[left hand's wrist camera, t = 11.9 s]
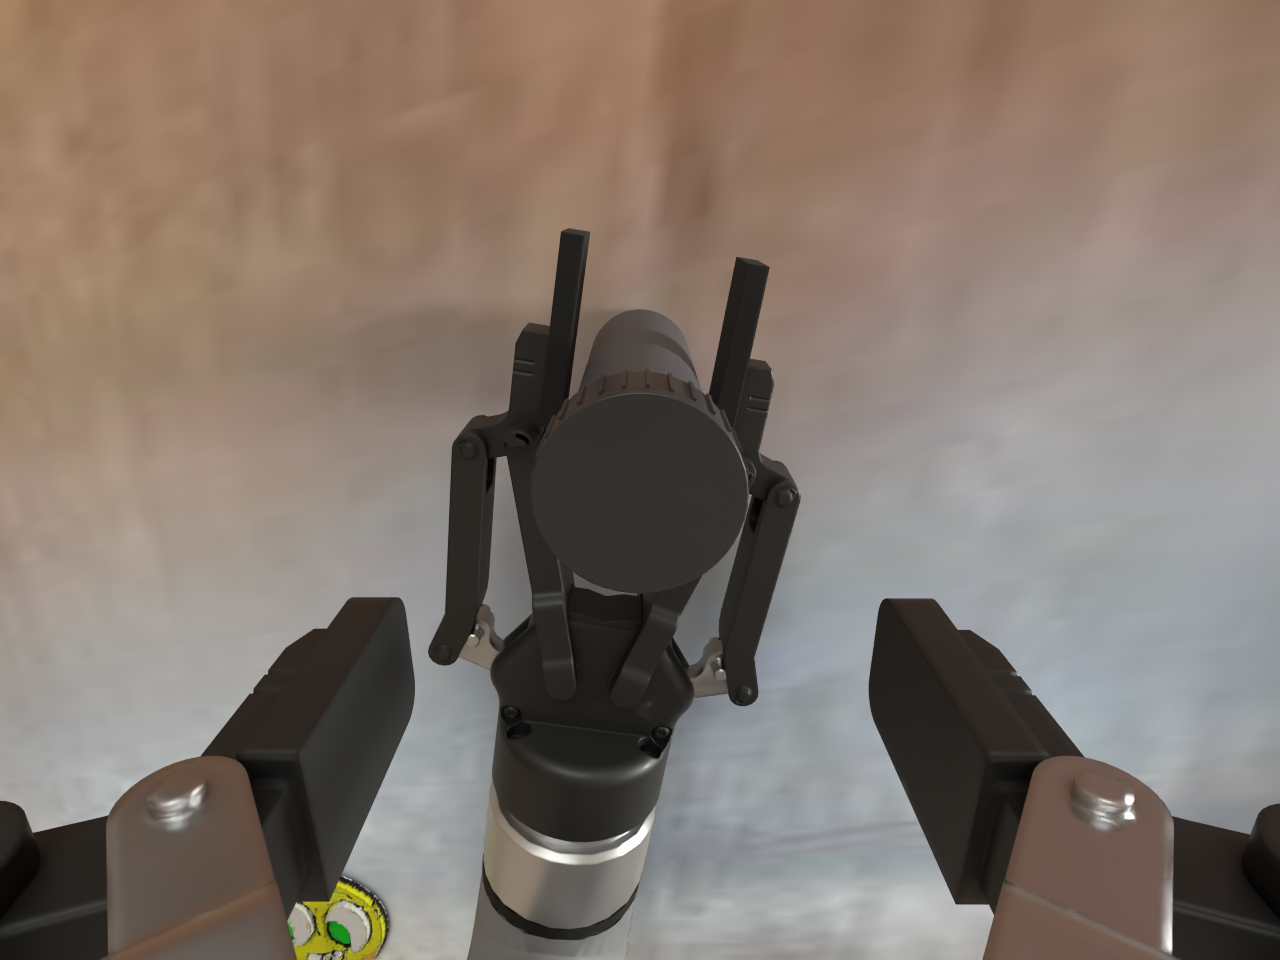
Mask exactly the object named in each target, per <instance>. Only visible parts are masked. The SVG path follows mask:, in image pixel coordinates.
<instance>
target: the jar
mask: <svg viewBox="0 0 1280 960" xmlns="http://www.w3.org/2000/svg"><path fill="white" fill-rule="evenodd" d="M626 369H627V372H633V371H645V370H646V369H650V372H656V373H662V374H666V375H667V374H668V372H669V373H672V376H673V377H676V378H678V379H680V380H683V381H685V382H687V383H688V382H689V381H691V382H693V385H694V387H695V388H697V389H699V390H700V391H701V388H700V385H699V382H698V379H697V376H696V372H695V369H694V366H693V363H692V360H691V357H690V354H689V350H688V347H687V344H686V341H685V339H684V337H683V335H682V333H681V331H680V330H679V329H678V327H677V326H676V325H675V324H674V323H673V322H672V321H671V320H669V319H668V318H666V317H665V316H663V315H661V314H659V313H656V312H653V311H649V310H631V311H627V312H624V313H621V314H619V315H617V316H615V317H613V318H612V319H611V320H609V321H608V322H607V323H606V324H605V325H604V326H603V327H602V329H601V330H600V331H599V333H598V335H597V337H596V339H595V341H594V344H593V347H592V350H591V354H590V357H589V360H588V363H587V366H586V369H585V372H584V375H583V379H582V382H581V385H580V388H581V386H582V385H584V384H585V386H588V385H590V384H591V383H593V382H595V381H597V380H599V379H600V378H601V376H602V375H605V376H606V377H607V376H610V375H614V374H619V373H623V370H626ZM580 388H579V391H580ZM579 391H578V392H579ZM701 392H702V391H701Z"/></svg>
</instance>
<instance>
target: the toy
mask: <svg viewBox="0 0 1280 960" xmlns="http://www.w3.org/2000/svg"><path fill="white" fill-rule="evenodd" d="M356 898H359V899H356ZM332 900H334V901H332ZM343 907H344V908H343ZM338 908H339V909H338ZM296 909H297V911H296ZM351 910H352V911H353V912H352V911H351ZM373 911H375V914H374V912H373ZM354 912H355V913H356V914H353V913H354ZM323 914H324V915H323ZM322 916H323V917H322ZM321 917H322V918H321ZM378 917H379V918H378ZM362 920H363V921H362ZM287 923H288V926H289V930H290V934H291V938H292V942H293V945H294V949H295V953H296V957H297V960H306V959H307V960H346V959H347V960H374V959H375V958H376V957H377V956H378V955H379V953H380V952H381V950H382V948H383V945H384V943H385V941H386V938H387V936H388V931H389V918H388V915H387V911H386V910H385V907H384V906H383V904H382V902H380V900H379V899H378V898H377V896H376V895H375V894H373V893H372V892H370V890H368V889H367V888H366V887H362V885H361V884H360V883H358V882H356V881H354V880H352V879H349V878H347V877H345V876H342V875H341V877H340V879H339V881H338V884H337V886H336V889H335V890H334V893H333V895H332V897H331V899H330V902H296V904H295V906H294V908H293V911H292V913H291V915H290V917H289V919H288V921H287ZM330 923H331V924H330ZM329 924H330V926H329ZM309 925H310V927H309ZM380 925H381V926H380ZM296 927H297V928H296ZM380 928H382V929H381V930H380ZM310 929H311V930H310ZM366 929H367V930H366ZM372 929H373V931H372ZM330 932H331V933H330ZM316 933H317V934H316ZM315 935H316V937H315ZM349 935H350V936H349ZM314 937H315V938H314ZM381 937H382V942H380V941H381ZM349 939H350V940H349ZM366 939H367V940H366ZM312 940H313V941H312ZM339 940H340V941H341V942H340V941H339ZM365 940H366V942H365ZM344 941H345V943H343V942H344ZM311 942H312V943H311ZM348 943H349V944H348ZM378 946H379V948H378ZM363 949H364V950H363ZM367 951H368V952H367ZM346 956H347V958H346ZM366 956H367V957H366ZM358 958H359V959H358Z"/></svg>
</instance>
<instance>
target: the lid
mask: <svg viewBox="0 0 1280 960" xmlns="http://www.w3.org/2000/svg"><path fill="white" fill-rule="evenodd" d="M741 451H743V450H742V447H741V445H740V443H739V440H738V438H737V435H736V433H735V430H734V428H731V427H730V424H729V422H728V419H727V416H726V414H725V412H724V410H723V409H722V410H719V409H718V407H717V406H716V405H715V404H714V403H713V401H712V398H711V396H710V395H709V394H708V393H707V394H706V395H705V394H704V393H702V392H701V391H700V390H699V389H697V388H695V387H694V385H693V382H691V381H689V382H688V383H687V382H685V381H683V380H680V379H678V378H676V377H673V376H672V373H669V372H668V374H667V375H666V374H662V373H656V372H650V369H646V370H645V371H633V372H627V369H626V370H623V373H619V374H614V375H610V376H607V377H606V376H605V375H602V376H601V378H600V379H599V380H597V381H595V382H593V383H591V384H590V385H588V386H585V384H584V385H582V386H581V388H580V391H579V392H578V393H576V394H575V395H574V396H573V397H572V398H571V399H570V400H569V399H568V398H566V399H565V400H564V403H563V406H562V408H561V410H560V411H559V412H558V414H557V416H555V415H553V416H552V418H551V420H550V423H549V425H548V428H547V430H546V433H545V434H544V435H543V438H542V440H541V443H540V445H539V448H538V450H537V453H536V455H535V458H537V462H536V465H535V467H534V470H533V472H532V475H531V480H532V487H531V493H532V506H533V512H534V516H535V519H536V523H537V526H538V528H539V530H540V532H541V535H542V537H543V539H544V540H545V542H546V543H547V545H548V546H549V548H550V550H551V551H552V552H553V553H554V554H555V555H556V557H557V558H558V559H559V560H560V561H561V562H562V563H563V564H564V565H566V566H567V567H568V568H569V569H570V570H572V571H573V572H574V573H576V574H577V575H579V576H580V577H582V578H584V579H586V580H588V581H589V582H591V583H594V584H596V585H599V586H601V587H604V588H608V589H612V590H615V591H621V592H628V593H651V592H659V591H664V590H669V589H672V588H675V587H678V586H681V585H684V584H686V583H688V582H690V581H692V580H695V579H696V578H698V577H699V576H701V575H703V574H704V573H706V572H707V571H708V570H710V569H711V568H712V567H713V566H715V565H716V564H717V563H718V562H719V561H720V560H721V559H722V558H723V557H724V555H725V554H726V553H727V552H728V550H729V549H730V548H731V546H732V545H733V544H734V542H735V540H736V538H737V536H738V535H739V533H740V530H741V528H742V525H743V523H744V520H745V516H746V511H747V507H748V496H749V489H748V479H747V474H746V473H748V468H747V465H746V463H745V460H744V458H743V455H742V453H741Z"/></svg>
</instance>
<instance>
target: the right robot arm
mask: <svg viewBox="0 0 1280 960" xmlns="http://www.w3.org/2000/svg"><path fill="white" fill-rule="evenodd" d="M589 236H590V232H588V231H582V230H576V229H570V228H568V229H566V230H564V231H561V237H560V246H559V254H558V263H557V271H556V280H555V289H554V297H553V306H552V314H551V323H550V326H546V325H540V324H534V323H528V324H527V326H526V327H525V328H524V329H523V330H522V332H521V334H520V336H519V338H518V340H517V342H516V346H515V356H514V366H513V376H512V386H511V396H510V406H509V411H507V412H505V413H503V414H500V415H495V416H489V417H488V416H484V415H479V416H476V417H474V418H472V419H471V420H470V421H469V423H468V424H467V425H466V426H465V428H464V429H463V430H462V432H461V433H460V434H459V436H458V437H457V438H456V440H455V441H454V442H453V446H452V461H451V485H450V509H449V533H448V557H447V581H446V606H445V614H444V616H443V619H442V621H441V623H440V625H439V627H438V629H437V631H436V633H435V636H434V638H433V640H432V642H431V644H430V646H429V650H428V653H429V657H430V658H431V659H432V661H433V662H435V663H437V664H439V665H443V666H444V665H450V664H452V663H454V662H455V661H456V660H457V659H458V657H461V658H463V659H465V660H468V661H470V662H472V663H475V664H477V665H480V666H482V667H484V668H487V669H489V670H491V671H490V674H491V680H492V683H493V685H494V687H495V688H496V690H497V693H498V695H499V700H500V705H499V714H498V723H497V732H496V741H495V750H494V758H493V767H492V778H493V780H492V784H491V787H490V792H489V801H488V811H487V821H486V831H485V840H484V853H483V863H482V876H481V883H480V890H479V896H478V903H477V910H476V917H475V923H474V929H473V935H472V940H471V945H470V949H469V954H468V958H467V960H626V952H627V942H628V935H629V929H630V924H631V918H632V912H633V907H634V902H635V896H636V892H637V889H638V885H639V880H640V877H641V873H642V870H643V866H644V862H645V857H646V853H647V849H648V844H649V840H650V835H651V831H652V827H653V822H654V818H655V809H656V803H657V800H658V798H659V793H660V789H661V784H662V779H663V775H664V770H665V766H666V761H667V757H668V752H669V748H670V743H671V739H672V735H673V730H674V727H675V724H676V722H677V720H678V719H679V718H680V716H681V715H682V714H683V713H684V712H685V711H686V710H687V709H688V708H689V707H690V705H691V703H692V701H693V698H697V697H704V696H712V695H720V694H727V693H728V694H729V697H730V700H731V701H732V702H733V703H734V704H736V705H738V706H747V705H750V704H752V703H753V702H755V701H756V699H757V697H758V685H757V677H756V669H755V660H754V657H755V653H756V650H757V646H758V643H759V639H760V636H761V633H762V629H763V626H764V622H765V619H766V616H767V612H768V609H769V605H770V602H771V599H772V595H773V592H774V588H775V585H776V582H777V578H778V575H779V571H780V568H781V565H782V561H783V558H784V554H785V551H786V548H787V544H788V541H789V537H790V534H791V531H792V527H793V524H794V520H795V517H796V514H797V510H798V507H799V503H800V497H801V495H800V492H799V490H798V488H797V486H796V484H795V482H794V480H793V478H792V477H791V475H790V473H789V471H788V469H787V467H786V466H785V465H784V464H783V463H781V462H779V461H772V460H770V459H769V458H767V457H765V456H763V455H762V454H760V453H759V450H760V444H761V440H762V435H763V431H764V427H765V422H766V418H767V414H768V409H769V405H770V400H771V397H772V392H773V388H774V380H773V373H772V369H771V368H770V367H769V365H768V364H767V363H766V361H761V360H754V359H750V355H751V350H752V346H753V341H754V337H755V332H756V327H757V323H758V318H759V314H760V309H761V304H762V300H763V295H764V291H765V286H766V281H767V277H768V272H769V268H770V267H769V266H767V265H765V264H763V263H761V262H759V261H757V260H752V259H746V258H740V257H736V262H735V267H734V272H733V277H732V282H731V286H730V291H729V296H728V301H727V306H726V311H725V316H724V321H723V326H722V331H721V336H720V341H719V346H718V351H717V356H716V361H715V366H714V371H713V376H712V381H711V386H710V391H709V395H710V396H711V398H712V401H713V403H714V404H715V405H716V406H717V407H718V409H719V410H722V409H723V410H724V412H725V414H726V416H727V419H728V422H729V424H730V427H731V428H734V430H735V433H736V435H737V438H738V440H739V443H740V445H741V447H742V450H743V451H741V453H742V455H743V458H744V460H745V463H746V465H747V468H748V473H746V474H747V479H748V489H749V494H751V495H752V497H751V501H750V505H749V508H748V512H747V516H746V520H745V523H744V527H743V531H742V535H741V538H740V542H739V546H738V549H737V553H736V557H735V561H734V564H733V568H732V572H731V576H730V579H729V583H728V587H727V591H726V594H725V598H724V602H723V606H722V609H721V614H720V619H719V638H718V637H714V638H711V639H710V640H709V643H708V644H707V645H706V646H705V647H704V649H703V655H702V658H701V660H700V661H699V662H698V663H696V664H694V665H690V666H689V665H688V663H687V661H686V659H685V658H684V656H683V654H682V652H681V651H680V649H679V647H678V645H677V644H676V642H675V640H674V638H673V635H674V633H675V631H676V629H677V626H678V622H679V618H680V615H681V613H682V611H683V609H684V607H685V605H686V604H687V602H688V600H689V598H690V596H691V595H692V593H693V591H694V589H695V587H696V586H697V584H698V582H699V580H700V578H701V576H702V575H701V576H699V577H698V578H696V579H695V580H692V581H690V582H688V583H686V584H684V585H681V586H678V587H675V588H672V589H669V590H664V591H659V592H651V593H638V594H637V596H633V595H626V594H624V595H613V596H604V595H602V594H599V593H596V592H594V591H591V590H589V589H583V588H576V587H575V583H574V577H573V571H572V570H570V569H569V568H568V567H567V566H566V565H564V564H563V563H562V562H561V561H560V560H559V559H558V558H557V557H556V555H555V554H554V553H553V552H552V551H551V550H550V548H549V546H548V545H547V543H546V542H545V540H544V539H543V537H542V535H541V532H540V530H539V528H538V526H537V523H536V519H535V516H534V512H533V506H532V493H531V487H532V480H531V475H532V472H533V470H534V467H535V465H536V462H537V458H535V455H536V453H537V450H538V448H539V445H540V443H541V440H542V438H543V435H544V434H545V433H546V430H547V428H548V425H549V423H550V420H551V418H552V416H553V415H555V416H557V414H558V412H559V411H560V410H561V408H562V406H563V403H564V400H565V399H566V398H569V390H570V382H571V375H572V367H573V359H574V352H575V344H576V336H577V329H578V321H579V313H580V306H581V298H582V290H583V282H584V275H585V267H586V259H587V252H588V244H589ZM502 456H507V459H508V465H509V470H510V476H511V481H512V486H513V492H514V497H515V503H516V508H517V514H518V519H519V524H520V530H521V535H522V541H523V546H524V551H525V557H526V562H527V568H528V573H529V578H530V584H531V589H532V610H533V613H532V614H531V615H530V616H529V617H528V618H527V619H526V620H525V621H524V622H522V623H521V624H520V625H519V626H518V627H517V628H516V629H515V630H514V631H513V632H511V633H510V634H509V635H508V636H507V637H506V638H505V639H504V640H503V639H501V638H499V637H498V636H497V635H496V633H495V631H494V622H495V618H494V615H493V613H492V612H491V609H490V607H489V606H487V605H485V604H482V602H483V600H484V597H485V594H486V590H487V587H488V579H489V566H490V551H491V535H492V520H493V504H494V489H495V474H496V458H497V457H502Z"/></svg>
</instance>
